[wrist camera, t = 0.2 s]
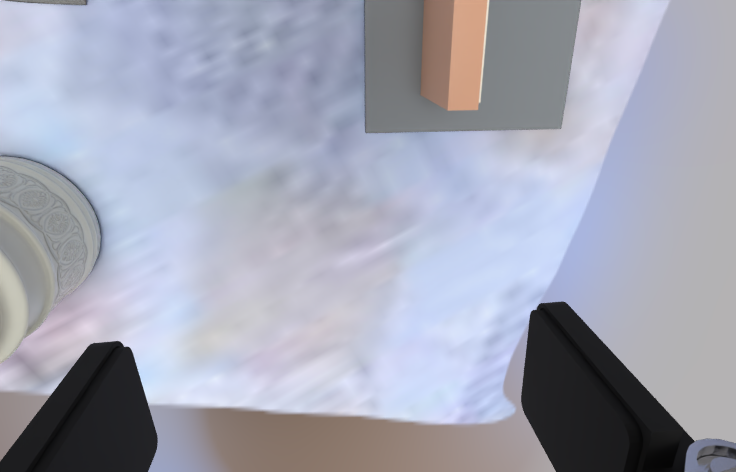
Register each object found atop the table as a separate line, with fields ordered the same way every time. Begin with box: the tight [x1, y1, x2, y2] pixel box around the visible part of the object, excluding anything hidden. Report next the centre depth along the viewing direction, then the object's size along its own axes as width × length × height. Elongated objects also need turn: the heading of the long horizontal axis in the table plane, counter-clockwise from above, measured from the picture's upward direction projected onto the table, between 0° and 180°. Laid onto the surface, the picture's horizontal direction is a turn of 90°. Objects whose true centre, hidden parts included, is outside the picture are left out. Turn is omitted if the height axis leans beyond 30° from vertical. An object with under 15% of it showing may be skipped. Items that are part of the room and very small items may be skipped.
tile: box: [420, 0, 489, 111], centre depth 32 cm, size 9×2×9 cm, turn 0°
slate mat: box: [365, 0, 581, 133], centre depth 36 cm, size 17×17×1 cm
